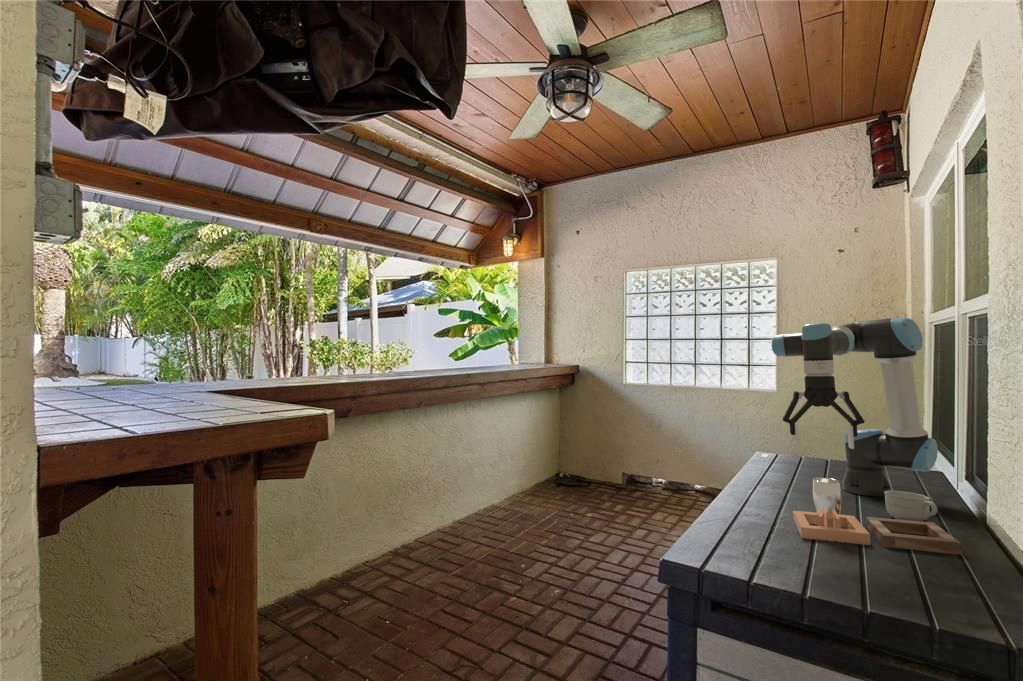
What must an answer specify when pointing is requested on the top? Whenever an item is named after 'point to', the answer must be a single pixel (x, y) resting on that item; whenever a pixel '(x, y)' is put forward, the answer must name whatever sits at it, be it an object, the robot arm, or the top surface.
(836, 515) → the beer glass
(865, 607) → the top surface
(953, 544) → the walnut holder
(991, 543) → the top surface
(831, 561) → the top surface
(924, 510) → the teacup
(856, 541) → the terracotta holder
